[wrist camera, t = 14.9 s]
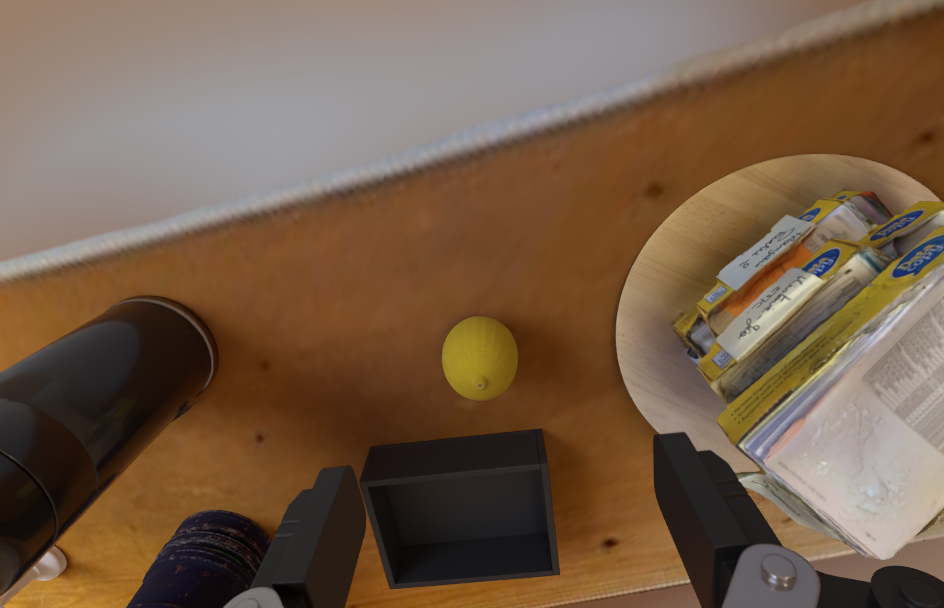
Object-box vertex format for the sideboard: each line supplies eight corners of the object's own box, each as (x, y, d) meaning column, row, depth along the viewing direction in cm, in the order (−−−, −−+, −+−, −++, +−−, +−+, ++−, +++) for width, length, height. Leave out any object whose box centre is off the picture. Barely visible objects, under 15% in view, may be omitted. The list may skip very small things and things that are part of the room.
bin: (397, 548, 50) (389, 589, 46) (370, 446, 45) (358, 482, 41) (553, 534, 49) (560, 575, 45) (541, 428, 44) (547, 463, 40)
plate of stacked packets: (555, 282, 39) (601, 406, 24) (881, 75, 33) (1226, 62, 18) (700, 491, 47) (807, 689, 31) (988, 352, 41) (1296, 513, 25)
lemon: (486, 375, 42) (486, 434, 35) (432, 337, 41) (420, 391, 34) (529, 327, 41) (539, 380, 33) (474, 286, 39) (472, 332, 32)
